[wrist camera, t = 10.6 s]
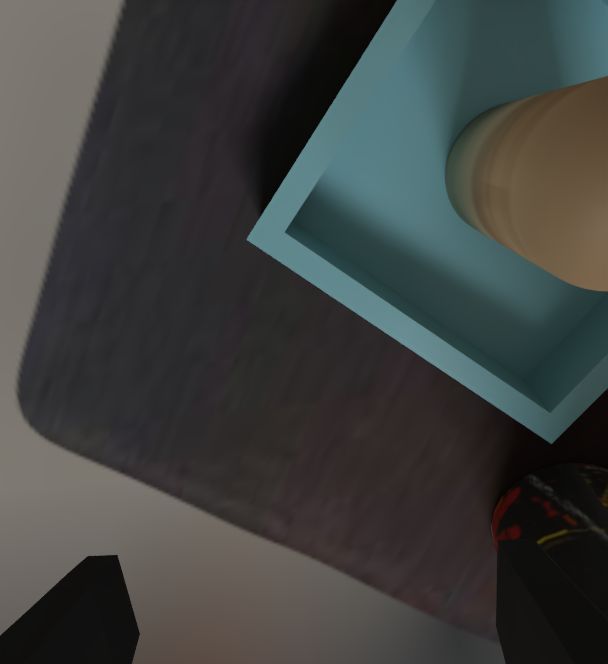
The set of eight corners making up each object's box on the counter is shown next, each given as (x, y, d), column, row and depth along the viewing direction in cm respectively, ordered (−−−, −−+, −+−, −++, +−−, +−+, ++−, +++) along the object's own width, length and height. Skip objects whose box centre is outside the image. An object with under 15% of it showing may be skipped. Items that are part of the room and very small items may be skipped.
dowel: (585, 98, 16) (770, 61, 9) (567, 233, 17) (716, 289, 10) (448, 104, 16) (529, 73, 9) (441, 237, 17) (508, 293, 10)
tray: (782, 123, 16) (877, 119, 13) (521, 400, 20) (551, 443, 17) (484, -129, 14) (520, -196, 11) (261, 224, 18) (246, 239, 15)
